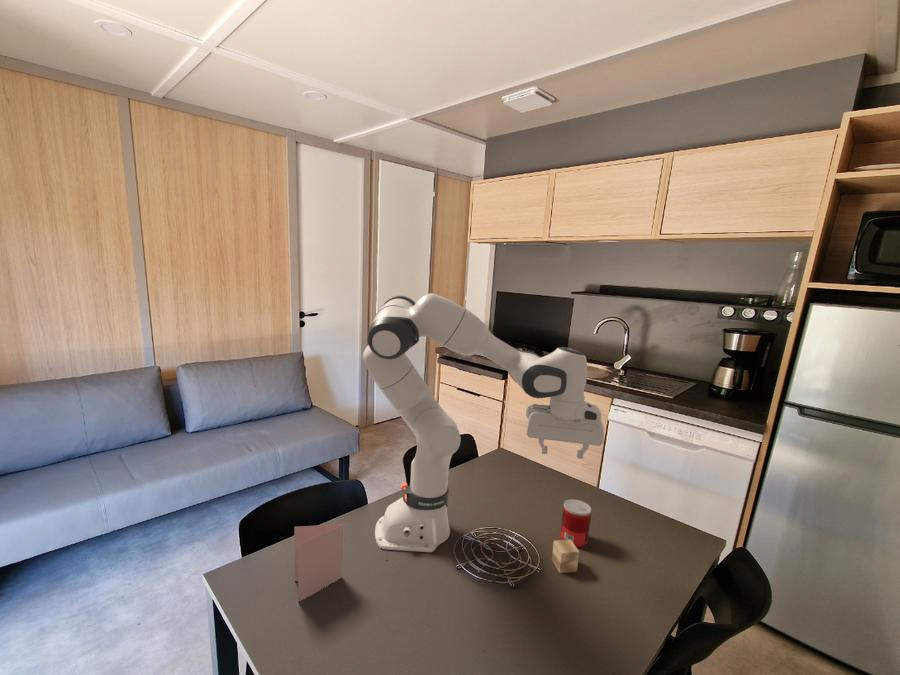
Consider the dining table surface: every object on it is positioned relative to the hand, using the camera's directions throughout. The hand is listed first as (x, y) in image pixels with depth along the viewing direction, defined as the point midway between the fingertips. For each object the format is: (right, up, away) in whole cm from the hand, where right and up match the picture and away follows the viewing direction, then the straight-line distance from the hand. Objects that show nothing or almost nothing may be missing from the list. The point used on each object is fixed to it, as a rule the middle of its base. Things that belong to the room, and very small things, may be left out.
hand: (561, 455), depth 109 cm
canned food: (+7, -29, +11) cm, 32 cm away
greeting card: (-63, -29, -12) cm, 71 cm away
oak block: (+1, -30, 0) cm, 30 cm away
